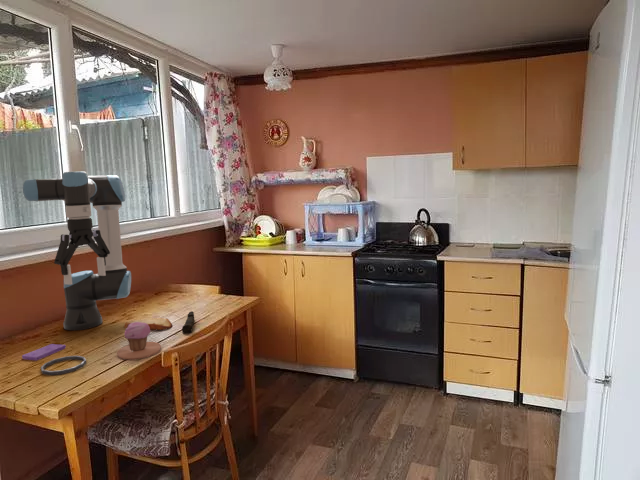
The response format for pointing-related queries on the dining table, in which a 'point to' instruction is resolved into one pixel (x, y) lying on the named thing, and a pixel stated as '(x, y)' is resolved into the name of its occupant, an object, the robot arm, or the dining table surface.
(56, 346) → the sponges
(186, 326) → the hand tool
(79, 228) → the robot arm
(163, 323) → the slice of bread
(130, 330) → the cupcake
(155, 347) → the plate
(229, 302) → the dining table surface
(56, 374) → the dark grey ring
